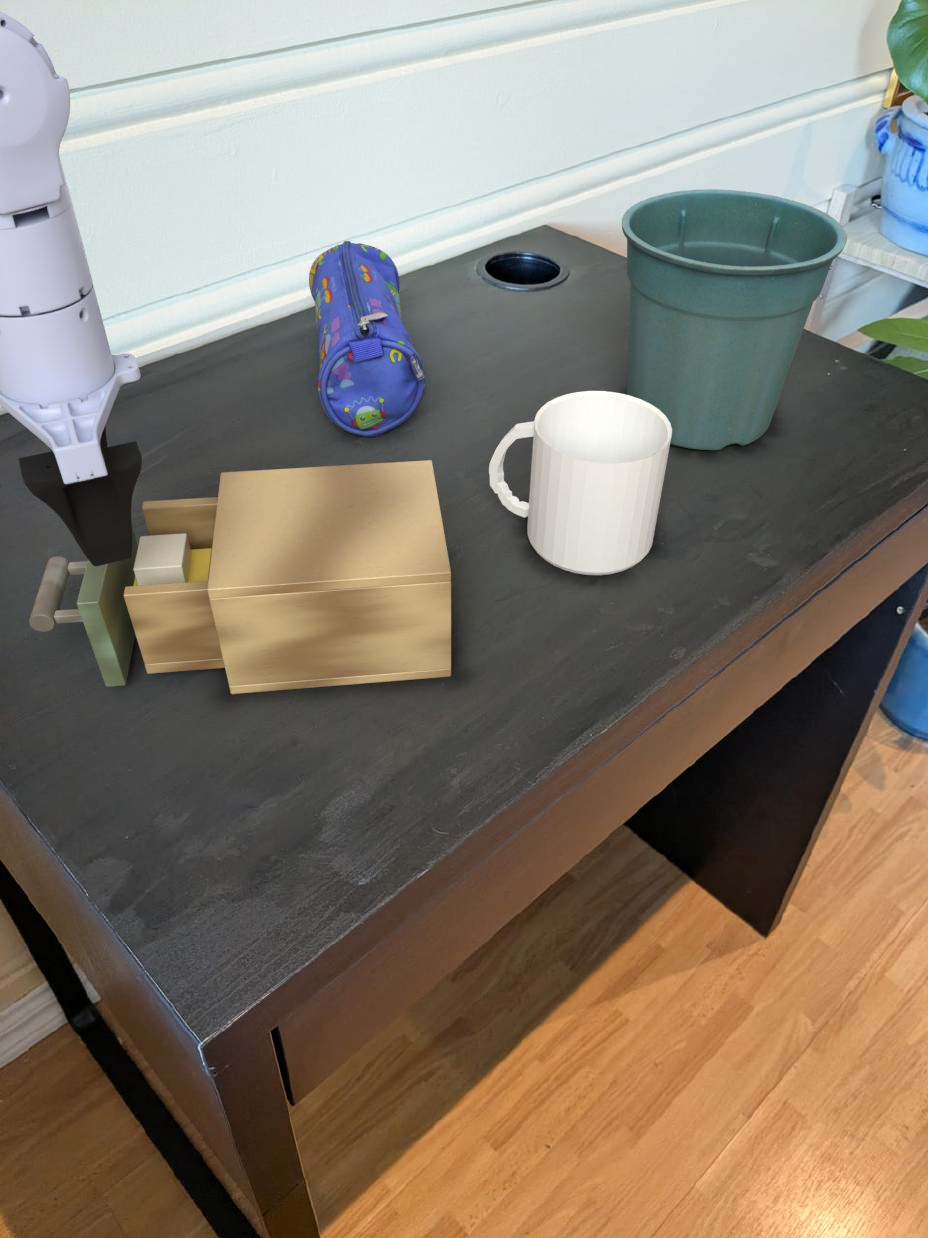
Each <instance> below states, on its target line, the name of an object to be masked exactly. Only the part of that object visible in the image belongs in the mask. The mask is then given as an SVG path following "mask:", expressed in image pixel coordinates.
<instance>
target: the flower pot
mask: <svg viewBox="0 0 928 1238" xmlns="http://www.w3.org/2000/svg"><path fill="white" fill-rule="evenodd" d="M621 230H622V233H623V235H624V237H625V239H626V274H627V278H628V280H629V283H630V285H629V319H628V320H629V321H628V349H627V350H628V353H627V382H626V383H627V385H626V395H629V396H632V397H635V398H638V399H641V400H643V401H645V402H648V403H650V404H651V405H653V406H654V407H656V408H657V409H659V410H660V411H661V412H662V413H663V414H664V415H665V416H666V417H667V419H668V420H669V422H670V424H671V428H672V435H671V442H670V445H672V446H675V447H678V448H679V447H680V448H683V449H689V450H700V451H721V450H722V449H723V448H725V447H727V446H729V445H734V444H737V445H739V446H741V447H742V446H746V445H749V444H752V443H754V442H755V441H757V440H758V439H760V438H761V437H762V436H763V435H764V434H765V433H766V432H767V430H768V429H769V427H770V425H771V423H772V420H773V417H774V414H775V411H776V409H777V405H778V402H779V399H780V397H781V394H782V391H783V388H784V385H785V383H786V379H787V377H788V374H789V371H790V368H791V366H792V362H793V360H794V357H795V354H796V351H797V348H798V345H799V343H800V339H801V337H802V334H803V332H804V329H805V327H806V324H807V322H808V318H809V315H810V313H811V310H812V307H813V304H814V302H815V301H816V300H817V299H818V297H820V295H821V293H822V290H823V288H824V285H825V282H826V280H827V277H828V275H829V271H830V269H831V267H832V263H833V261H834V260H835V259H836V258H837V257H839V256H840V254H841V253H842V252H843V250H844V249H845V247H846V245H847V243H848V242H847V241H848V234H847V232H846V230H845V228H844V227H843V226H842V224H840V222H839V221H838V220H837V219H836V218H834V217H832V216H831V215H830V214H828V213H826V212H825V211H822V210H820V209H818V208H816V207H813V206H811V205H808V204H805V203H802V202H800V201H796V200H792V199H789V198H785V197H782V196H777V195H776V196H775V195H771V194H766V193H759V192H754V191H744V190H736V189H735V190H734V189H713V188H712V189H709V188H708V189H690V190H689V189H688V190H679V191H671V192H667V193H663V194H659V195H655V196H651V197H648V198H646V199H644V200H640V201H639V202H637V203H635V204H633V205H632V206H630V207H629V208H628V209H627V210H626V211H625V212H624V213H623V216H622V218H621Z"/></svg>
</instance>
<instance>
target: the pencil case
mask: <svg viewBox="0 0 928 1238" xmlns="http://www.w3.org/2000/svg"><path fill="white" fill-rule="evenodd" d="M308 286H309V292H310V294H311V297H312V300H313V301H314V308H315V310H314V311H315V323H316V328H317V334H318V335H317V336H318V361H319V371H318V376H317V396H318V399H319V401H320V404H321V406H322V409H323V411H324V412H325V415H326V416H327V417H328V418H329V420H330V421H331V422H332V423H333V424H334V425H336V426H337V427H338V428H340V429H341V430H343V431H344V432H347V433H349V434H353V435H356V436H360V437H364V438H372V437H377V436H381V435H383V434H384V433H387V432H388V431H390V430H392V429H395V428H397V427H398V426H400V425H402V424H403V423H404V422H406V420H408V419H409V418H410V417H411V416H412V415H413V414H414V412H415V411H416V410H417V408H418V407H419V405H420V403H421V401H422V399H423V396H424V393H425V388H426V371H425V367H424V363H423V361H422V359H421V356H420V355H419V353H418V352H417V350H416V349H415V348H414V346H413V344H412V340H411V336H410V334H409V332H408V330H407V329H406V327H405V325H404V323H403V321H402V310H401V309H402V308H401V300H400V275H399V271H398V268H397V265H396V264H395V262H394V261H393V259H392V258H391V257H390V255H388V254H387V253H386V252H385V251H383V250H382V249H380V248H379V247H376V246H372V245H368V244H365V243H360V242H359V243H354V242H351V241H350V240H344V241H343V242H342V243H341V244H336V245H335V246H333V247H330V248H329V249H327V250H325V251H323V252H321V253H320V254H319V255H318V256H317V257H316V258H315V259H314V261H313V262H312V264H311V265H310V268H309V273H308Z"/></svg>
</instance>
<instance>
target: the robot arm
mask: <svg viewBox="0 0 928 1238" xmlns="http://www.w3.org/2000/svg"><path fill="white" fill-rule="evenodd" d="M34 37H35V34H34V33H33V32H32V31H31V30H30V29H29V28H27V26H25V25H24V24H22V23H21V22H20V21H19V20H17V19H16V18H14V17H12V16H10V15H8V14H6V13H4V12H1V11H0V407H2V409H3V410H5V411H6V412H7V413H8V414H9V415H11V416H12V417H13V418H14V419H16V420H17V421H18V422H19V423H20V424H21V425H22V426H24V427H25V428H26V429H27V430H28V431H30V432H31V433H32V434H33V435H34V436H35V437H37V438H38V439H39V440H40V441H41V442H43V443H44V444H45V445H46V446H47V447H48V448H49V450H50V451H48V452H42V453H37V454H33V455H29V456H23V457H19V458H17V459H18V464H19V465H18V466H19V469H20V476H21V479H22V480H23V483H24V485H25V486H26V488H27V490H29V492H30V493H31V494H32V495H33V496H34V497H36V498H37V499H39V500H40V501H42V502H43V503H45V504H46V506H48V507H49V508H50V509H51V510H52V511H53V512H54V513H55V514H56V515H57V516H58V517H59V519H61V521H62V522H63V523H64V525H65V526H66V528H67V529H68V531H69V532H70V534H71V535H72V537H73V539H74V541H75V542H76V543H77V545H78V547H79V548H80V550H81V551H82V553H83V555H84V556H85V557H86V559H87V561H88V560H89V561H90V562H91V563H92V565H93V566H100V565H104V564H108V563H113V562H117V561H121V560H125V559H129V558H130V557H131V554H132V526H133V524H132V503H133V496H134V490H135V487H136V484H137V481H138V480H139V477H140V474H141V472H142V465H143V464H142V463H143V457H142V453H141V450H140V447H139V444H138V442H137V440H135V441H130V442H125V443H120V444H115V445H111V446H108V439H107V438H108V437H107V427H106V426H107V425H106V424H107V421H108V419H109V417H110V414H111V411H112V409H113V406H114V405H115V401H116V398H117V397H118V394H119V391H120V389H121V387H122V386H123V385H125V384H129V383H134V382H138V381H139V380H140V379H141V377H142V374H141V370H140V366H139V363H138V361H137V359H136V356H135V355H134V354H132V353H128V352H127V353H119V354H112V352H111V348H110V345H109V340H108V336H107V332H106V328H105V324H104V321H103V317H102V313H101V309H100V305H99V302H98V297H97V293H96V290H95V286H94V283H93V277H92V274H91V270H90V266H89V263H88V258H87V254H86V250H85V246H84V243H83V239H82V235H81V231H80V227H79V224H78V223H79V222H78V220H77V219H78V218H77V216H76V211H75V208H74V203H73V200H72V196H71V193H70V188H69V185H68V183H67V180H66V175H65V172H64V168H63V164H62V160H61V156H60V148H61V144H62V141H63V138H64V136H65V134H66V131H67V127H68V124H69V121H70V120H69V119H70V113H71V93H70V92H71V91H70V86H69V82H68V81H69V80H68V79H67V78H65V77H63V76H60V75H59V74H57V72H56V69H55V67H54V65H53V62H52V60H51V58H50V56H49V54H48V52H47V51H46V49H45V47H44V45H43V44H42V43H39V42H37V40H36V39H35V38H34Z"/></svg>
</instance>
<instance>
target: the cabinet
mask: <svg viewBox="0 0 928 1238" xmlns="http://www.w3.org/2000/svg"><path fill="white" fill-rule="evenodd" d="M219 475H220V476H219V485H218V492H217V493H218V494H217V497H218V501H217V510H216V519H215V527H214V536H213V545H212V553H211V562H210V570H209V579H208V588H207V591H208V595H209V600H210V604H211V609H212V613H213V617H214V622H215V626H216V631H217V635H218V639H219V644H220V648H221V652H222V657H223V661H224V666H225V668H224V670H225V674H226V679H227V683H228V687H229V691H230V694H231V695H239V694H252V693H263V692H276V691H287V690H288V691H289V690H299V689H301V690H303V689H310V688H311V689H313V688H314V689H315V688H324V687H337V686H338V687H339V686H350V685H363V684H375V683H376V684H377V683H386V682H387V683H388V682H398V681H399V682H400V681H411V680H424V679H425V680H426V679H437V678H438V679H439V678H450V677H451V676H452V570H451V563H450V559H449V552H448V548H447V547H448V546H447V540H446V535H445V528H444V523H443V515H442V511H441V505H440V501H439V494H438V488H437V482H436V475H435V471H434V464H433V461H432V459H427V460H426V459H425V460H412V461H396V462H377V463H376V462H375V463H362V464H360V463H359V464H344V465H343V464H342V465H341V464H340V465H328V466H327V465H325V466H310V467H309V466H308V467H294V468H293V467H291V468H277V469H275V468H273V469H258V470H241V471H223V472H220V474H219Z"/></svg>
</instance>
